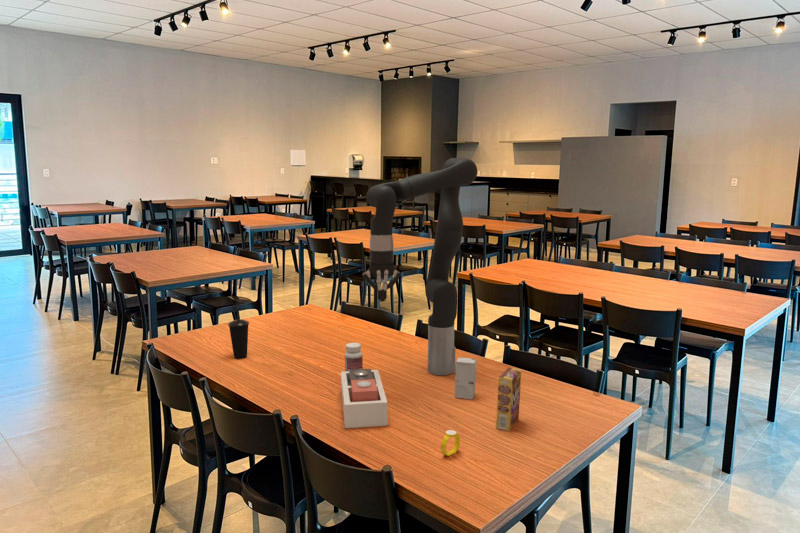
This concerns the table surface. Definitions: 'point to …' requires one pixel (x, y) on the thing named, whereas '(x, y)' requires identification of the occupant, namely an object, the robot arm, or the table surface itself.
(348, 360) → the pill bottle
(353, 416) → the frame
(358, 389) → the red button block
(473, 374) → the skincare box
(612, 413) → the table surface
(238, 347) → the drinking cup
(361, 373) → the grey button block
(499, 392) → the candy box
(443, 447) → the watch
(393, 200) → the robot arm
